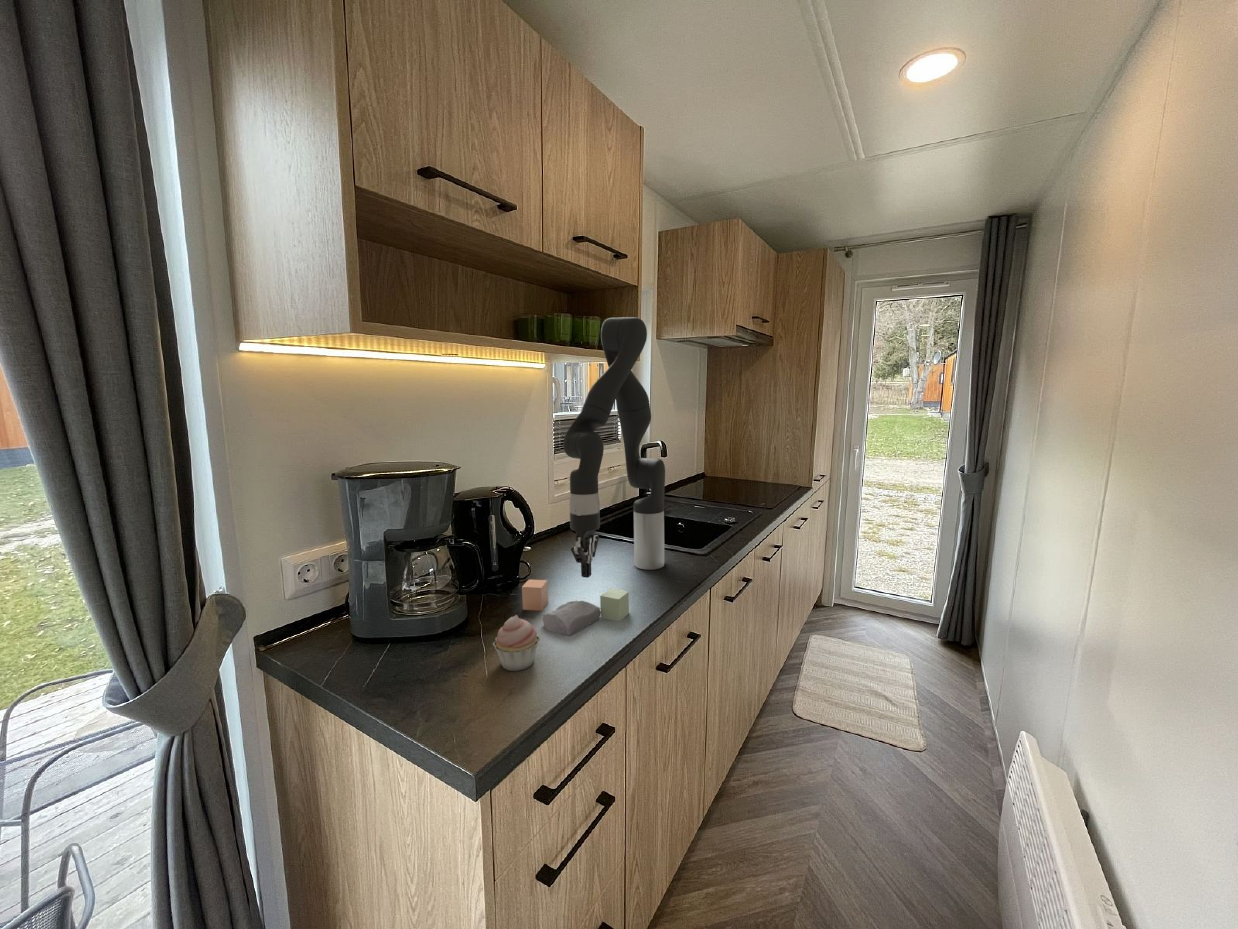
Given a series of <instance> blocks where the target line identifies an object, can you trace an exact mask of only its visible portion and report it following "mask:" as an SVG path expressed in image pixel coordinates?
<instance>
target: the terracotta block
mask: <svg viewBox="0 0 1238 929" xmlns="http://www.w3.org/2000/svg"><path fill="white" fill-rule="evenodd" d="M548 586H549V583H548V580H547V579H528V580H527V581H526V582H525V583H524V584H523V585H522V587H521V594H522V596H521V597H522V610H523V611H538V612H540V611H541V612H543V610H544V609H545V608H546V607H547V605H548V604H549V587H548Z"/></svg>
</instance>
